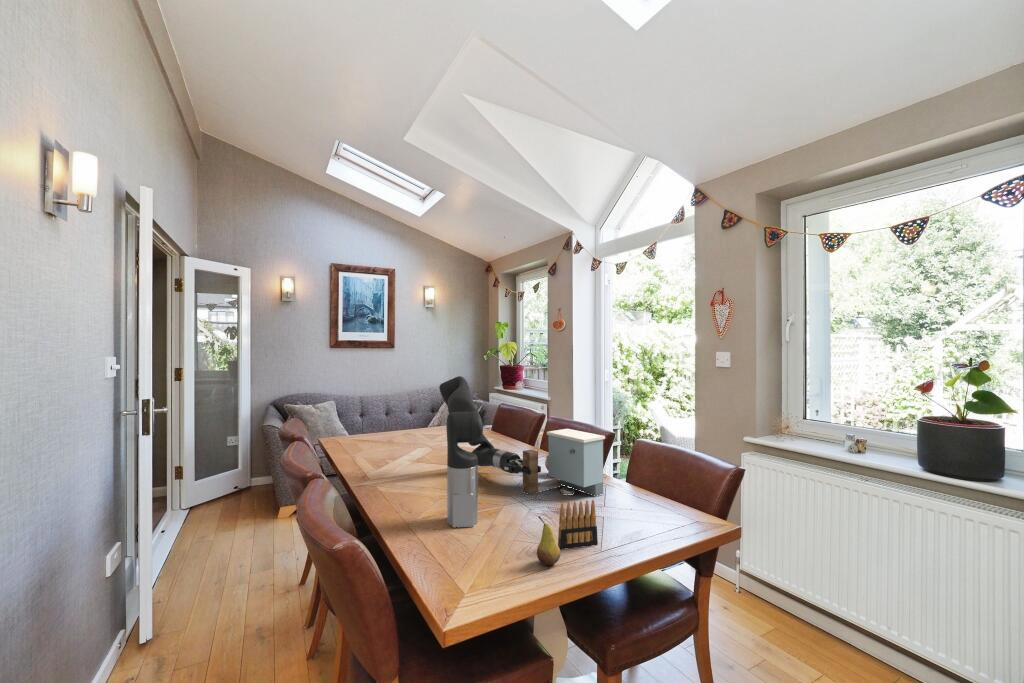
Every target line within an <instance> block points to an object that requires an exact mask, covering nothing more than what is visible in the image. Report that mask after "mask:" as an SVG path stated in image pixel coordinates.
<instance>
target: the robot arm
mask: <svg viewBox="0 0 1024 683" xmlns="http://www.w3.org/2000/svg"><path fill="white" fill-rule="evenodd" d="M469 385H470V384H468V382H467V380H466V378H465V377H463V376H461V375H460V376H455V377H453V378H451V379H449V380H446V381H444V382H442V383H440V384H439V387H438V388H439V391H440V395H441V397H442V400H443V401H444V403H445V405H446V406H447V411H448V415H447V416H446V441H447V442H446V444H447V452H446V453H447V461H446V462H447V465H446V466H447V468H446V471H447V472H446V475H447V477H446V487H447V488H446V493H447V494H446V496H447V497H446V503H447V504H446V510H447V512H446V513H447V514H446V516H447V517H446V518H447V520H446V521H447V525H449V526H451V528H453V529H455V528H456V527H457V528H471V527H474V525H476V524H478V522H479V521H478V520H479V518H478V516H479V513H478V512H479V506H478V505H479V503H478V502H479V501H478V498H479V496H478V492H479V489H478V487H479V485H478V484H479V483H478V482H479V478H478V477H479V476H478V473H479V472H478V471H479V467H494V468H497V469H498V470H500V471H503V472H506V473H509V474H523V473H525V474H528V475H530V474H531V468H528V467H525V466H523V458H521V457H520V456H519V454H518V453H515V452H512V451H509V450H508V451H507V450H502V449H499V448H495V446H494V445H493V444H492V443H491V442H490V441H489V440H488V438H487V436H485V434H484V424H483V420H482V416H481V415H480V413H479V411H478V410H477V408H476V406H475V402H474V399H473V397H472V395H471V389H470V386H469ZM459 443H460V444H463V443H468V444H469V445H470V446H472V447H475V449H473V450H472V451H468V450H465V449H463V448H461V447H460V446H459ZM476 446H477V447H476ZM541 472H542V466H540V465H538V473H541Z"/></svg>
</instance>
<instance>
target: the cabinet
mask: <svg viewBox="0 0 1024 683" xmlns="http://www.w3.org/2000/svg"><path fill="white" fill-rule="evenodd" d="M546 435H547V436H548V455H549V471H548V477H552V478H553V479H555V478H556V479H559V480H561V484H562V485H565V486H569V487H572V488H574V489H577V490H581V491H584V492H586V493H589V494H592V495H595V496H597V495H600V494H603V495H604V440H605V439H606V436H605V435H602V434H597V433H591V432H587V431H581V430H577V429H571V428H563V429H556V430H550V431H546ZM562 485H561V486H562ZM565 486H564V487H565ZM577 490H576V491H577ZM586 493H585V494H586ZM589 494H588V495H589ZM592 495H591V496H592ZM595 496H594V497H595ZM600 496H601V495H600ZM597 497H598V496H597Z"/></svg>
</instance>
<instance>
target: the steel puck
mask: <svg viewBox="0 0 1024 683" xmlns="http://www.w3.org/2000/svg"><path fill="white" fill-rule="evenodd" d="M560 492H561V493H562V494H573V493H574V494H575V490H574V489H573V488H568V487H560ZM561 493H560V494H561ZM562 494H561V495H562Z"/></svg>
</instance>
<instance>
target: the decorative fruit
mask: <svg viewBox="0 0 1024 683" xmlns="http://www.w3.org/2000/svg"><path fill="white" fill-rule="evenodd" d="M544 461H545V462H544V465H545V468H546V470H547V471H548V472H549V454H547V455H546V456H545V460H544Z"/></svg>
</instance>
